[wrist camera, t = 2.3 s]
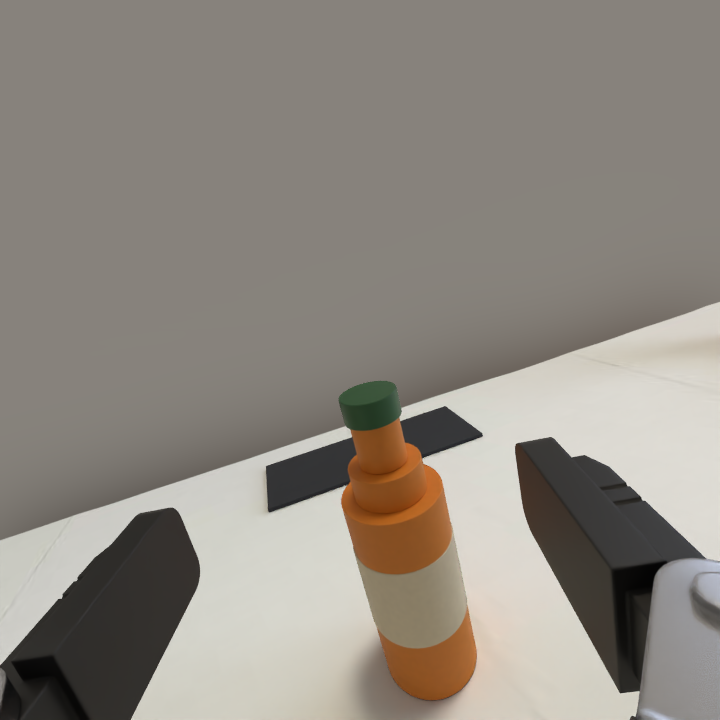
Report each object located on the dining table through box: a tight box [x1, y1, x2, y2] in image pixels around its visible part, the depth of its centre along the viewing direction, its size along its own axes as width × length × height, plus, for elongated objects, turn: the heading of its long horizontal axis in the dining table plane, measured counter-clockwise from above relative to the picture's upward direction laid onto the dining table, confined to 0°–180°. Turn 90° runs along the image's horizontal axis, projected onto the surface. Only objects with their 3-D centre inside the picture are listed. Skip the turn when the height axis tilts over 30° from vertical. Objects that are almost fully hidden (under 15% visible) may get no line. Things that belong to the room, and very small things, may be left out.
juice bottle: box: [339, 381, 477, 700], centre depth 23 cm, size 6×6×18 cm
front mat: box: [266, 406, 483, 512], centre depth 50 cm, size 26×10×1 cm, turn 104°
